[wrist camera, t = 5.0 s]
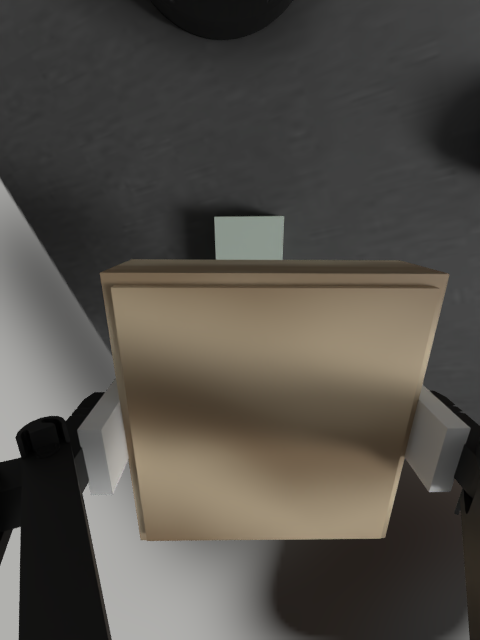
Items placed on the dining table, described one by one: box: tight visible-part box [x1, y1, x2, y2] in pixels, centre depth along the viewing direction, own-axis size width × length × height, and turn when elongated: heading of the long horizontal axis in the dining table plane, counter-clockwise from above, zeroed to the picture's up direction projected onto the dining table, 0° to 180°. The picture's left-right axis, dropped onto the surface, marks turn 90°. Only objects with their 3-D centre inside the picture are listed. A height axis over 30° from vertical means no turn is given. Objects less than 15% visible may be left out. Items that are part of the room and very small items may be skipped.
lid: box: [100, 259, 449, 541], centre depth 13 cm, size 12×11×3 cm
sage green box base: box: [214, 216, 284, 260], centre depth 29 cm, size 12×6×4 cm, turn 1°
